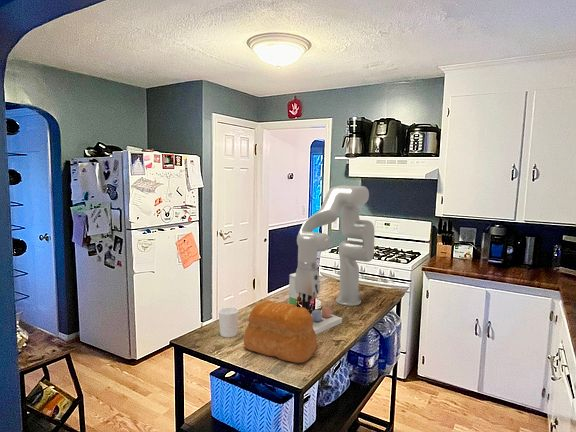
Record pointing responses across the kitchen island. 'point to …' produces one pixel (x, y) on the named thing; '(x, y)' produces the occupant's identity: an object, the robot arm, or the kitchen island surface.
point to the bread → (281, 331)
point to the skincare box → (292, 290)
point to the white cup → (228, 321)
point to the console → (326, 323)
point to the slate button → (316, 316)
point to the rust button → (326, 312)
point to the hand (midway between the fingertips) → (305, 309)
